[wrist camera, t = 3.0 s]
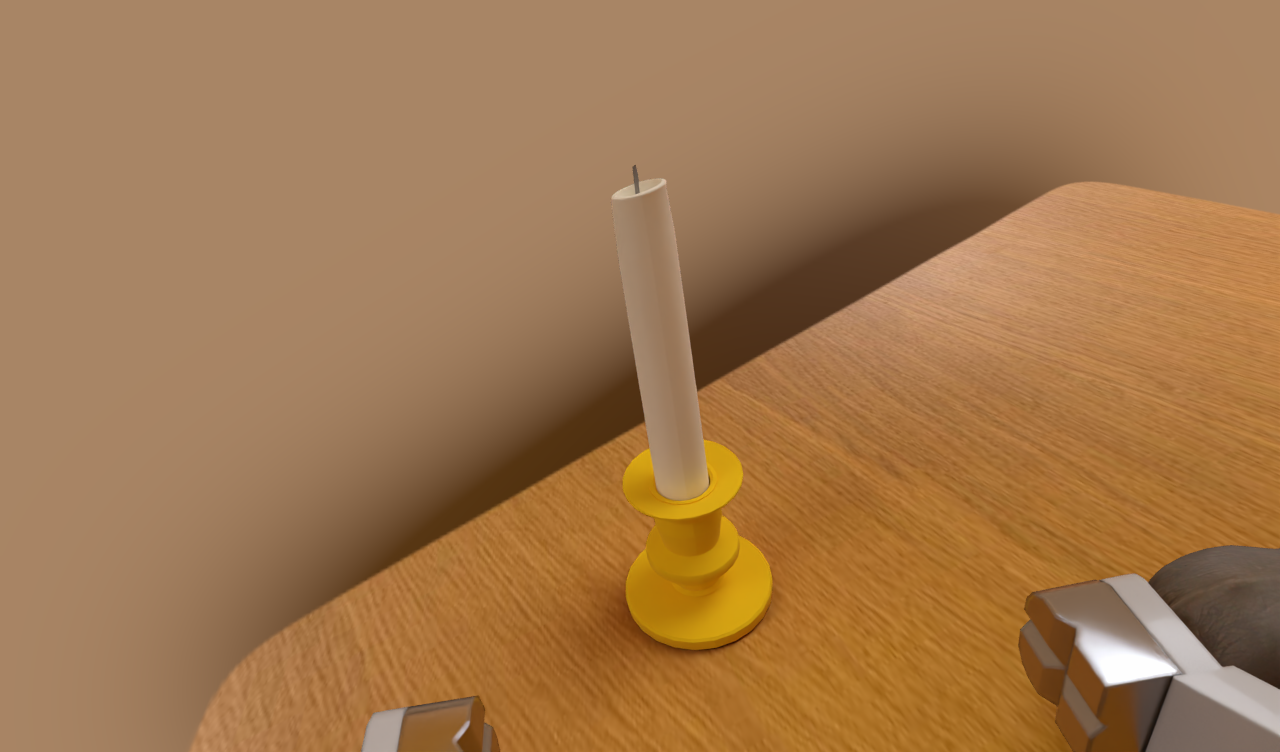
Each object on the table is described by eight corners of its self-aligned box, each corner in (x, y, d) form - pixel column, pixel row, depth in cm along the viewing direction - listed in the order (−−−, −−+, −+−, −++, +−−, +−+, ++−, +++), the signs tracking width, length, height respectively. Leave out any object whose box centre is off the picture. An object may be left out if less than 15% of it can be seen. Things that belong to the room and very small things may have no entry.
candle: (598, 611, 27) (488, 192, 19) (679, 519, 31) (617, 127, 22) (724, 677, 24) (661, 216, 16) (799, 567, 28) (779, 136, 19)
